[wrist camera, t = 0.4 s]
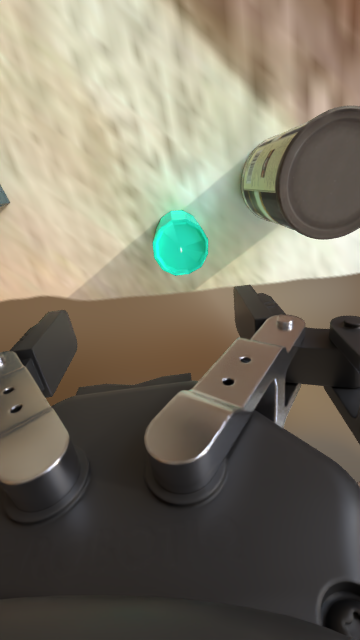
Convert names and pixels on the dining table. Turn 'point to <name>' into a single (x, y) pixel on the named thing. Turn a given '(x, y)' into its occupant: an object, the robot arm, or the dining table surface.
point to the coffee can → (309, 176)
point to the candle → (179, 243)
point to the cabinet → (3, 198)
